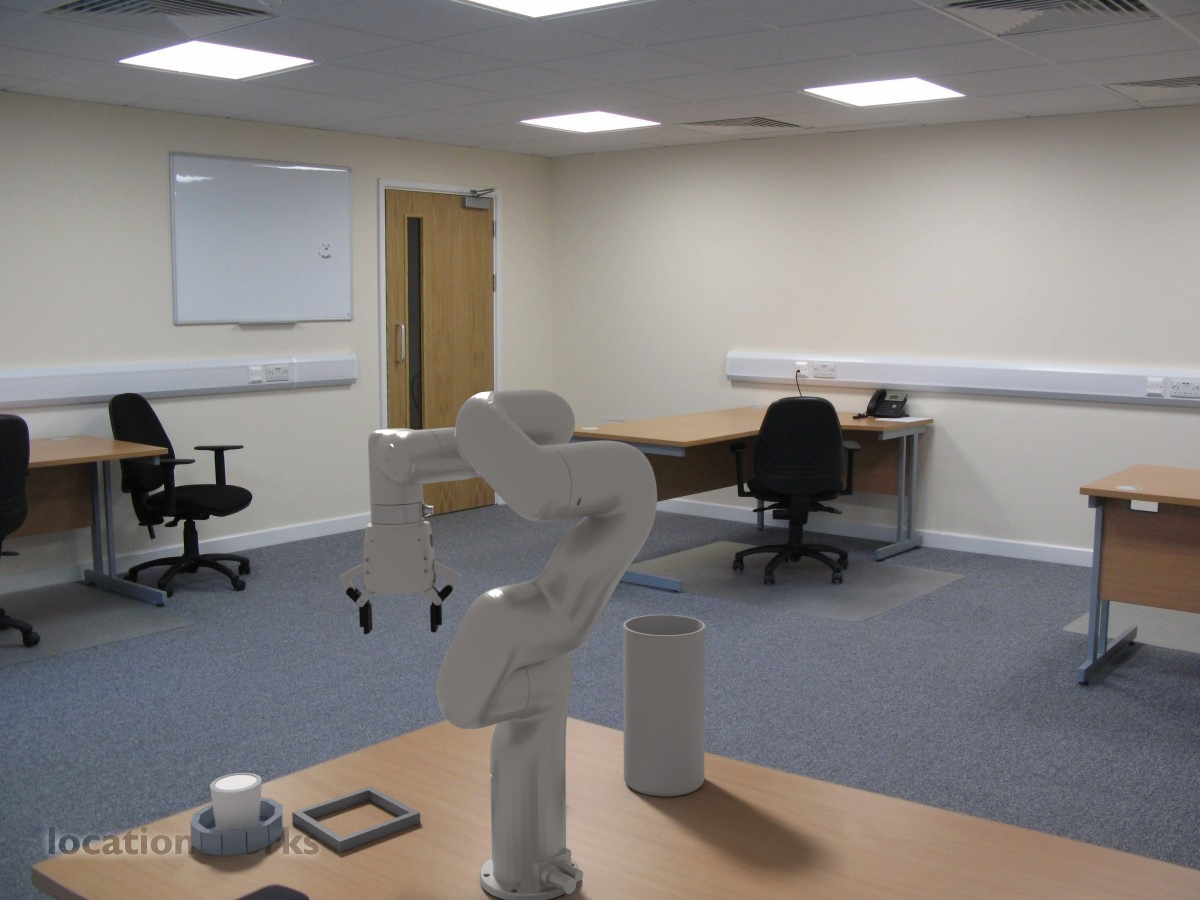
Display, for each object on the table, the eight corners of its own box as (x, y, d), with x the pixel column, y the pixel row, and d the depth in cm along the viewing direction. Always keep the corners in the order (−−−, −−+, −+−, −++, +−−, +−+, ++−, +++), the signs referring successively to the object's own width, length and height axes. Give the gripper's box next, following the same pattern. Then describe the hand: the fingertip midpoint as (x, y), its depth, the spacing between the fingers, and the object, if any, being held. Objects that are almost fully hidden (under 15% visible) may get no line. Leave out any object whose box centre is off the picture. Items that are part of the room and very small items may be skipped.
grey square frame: (420, 822, 158) (420, 812, 158) (340, 852, 149) (339, 841, 149) (370, 795, 168) (370, 786, 168) (292, 822, 159) (292, 812, 159)
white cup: (271, 820, 158) (269, 772, 157) (251, 842, 151) (249, 792, 150) (225, 818, 158) (223, 770, 158) (203, 839, 151) (200, 790, 151)
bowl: (298, 835, 154) (297, 815, 154) (216, 864, 146) (215, 842, 146) (258, 809, 163) (257, 789, 163) (177, 835, 155) (176, 814, 154)
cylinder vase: (661, 805, 164) (661, 640, 161) (607, 779, 173) (606, 623, 171) (721, 784, 171) (722, 626, 169) (666, 760, 181) (666, 610, 179)
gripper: (460, 509, 163) (463, 623, 165) (342, 512, 163) (346, 626, 165) (454, 517, 156) (458, 636, 157) (331, 519, 156) (336, 639, 157)
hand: (401, 631), depth 161 cm, fingers open, 9 cm apart
